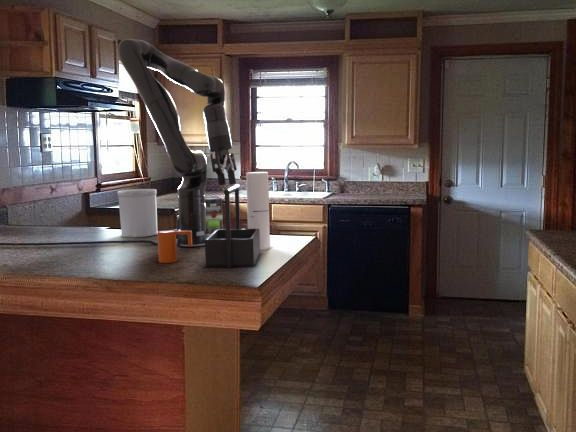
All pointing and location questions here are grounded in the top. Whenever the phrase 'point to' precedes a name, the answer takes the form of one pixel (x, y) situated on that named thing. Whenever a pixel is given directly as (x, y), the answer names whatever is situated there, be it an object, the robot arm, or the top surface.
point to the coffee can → (213, 214)
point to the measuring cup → (170, 244)
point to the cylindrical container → (258, 206)
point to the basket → (232, 241)
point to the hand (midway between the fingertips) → (227, 184)
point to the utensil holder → (138, 212)
